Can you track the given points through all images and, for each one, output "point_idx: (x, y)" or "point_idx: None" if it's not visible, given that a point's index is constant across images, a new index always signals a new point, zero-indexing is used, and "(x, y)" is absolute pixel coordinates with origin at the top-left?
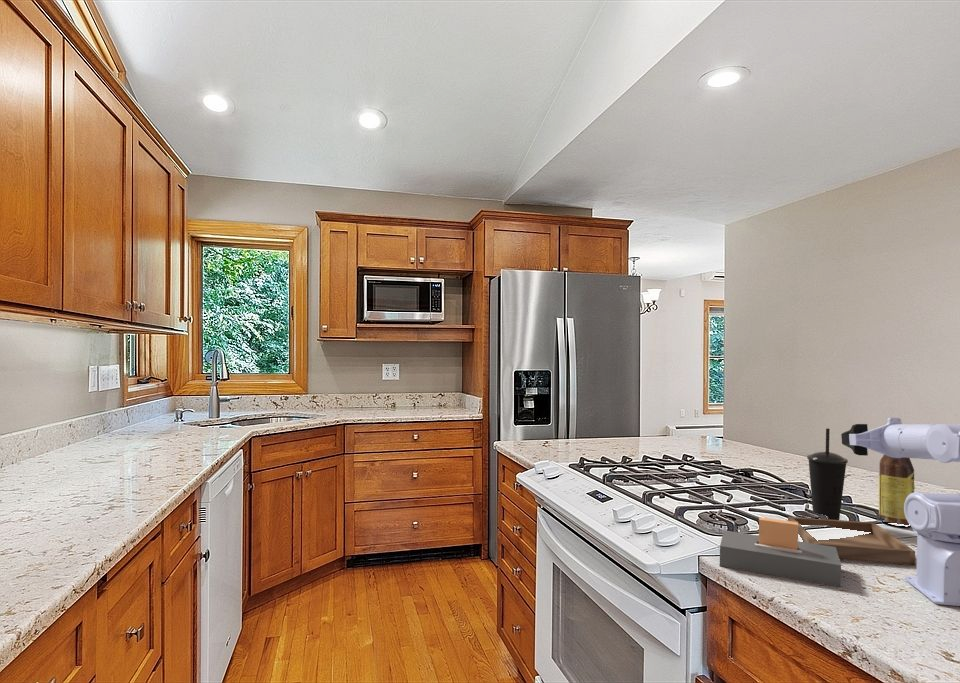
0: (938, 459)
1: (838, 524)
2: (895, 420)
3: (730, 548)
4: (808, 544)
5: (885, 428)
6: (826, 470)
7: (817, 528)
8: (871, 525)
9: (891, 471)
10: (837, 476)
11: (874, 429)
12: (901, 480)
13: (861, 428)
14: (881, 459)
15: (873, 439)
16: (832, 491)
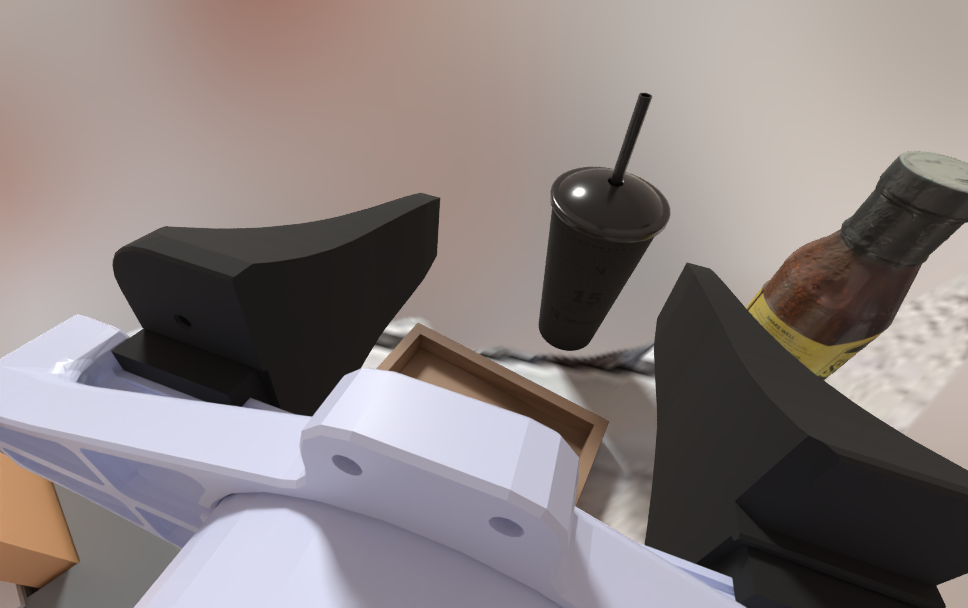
0: None
1: (515, 389)
2: (418, 502)
3: None
4: (149, 545)
5: (228, 507)
6: (567, 243)
7: (493, 360)
8: (591, 430)
9: (792, 306)
10: (594, 269)
11: (113, 439)
12: (803, 344)
13: (184, 301)
14: (801, 250)
15: (146, 502)
16: (571, 296)
